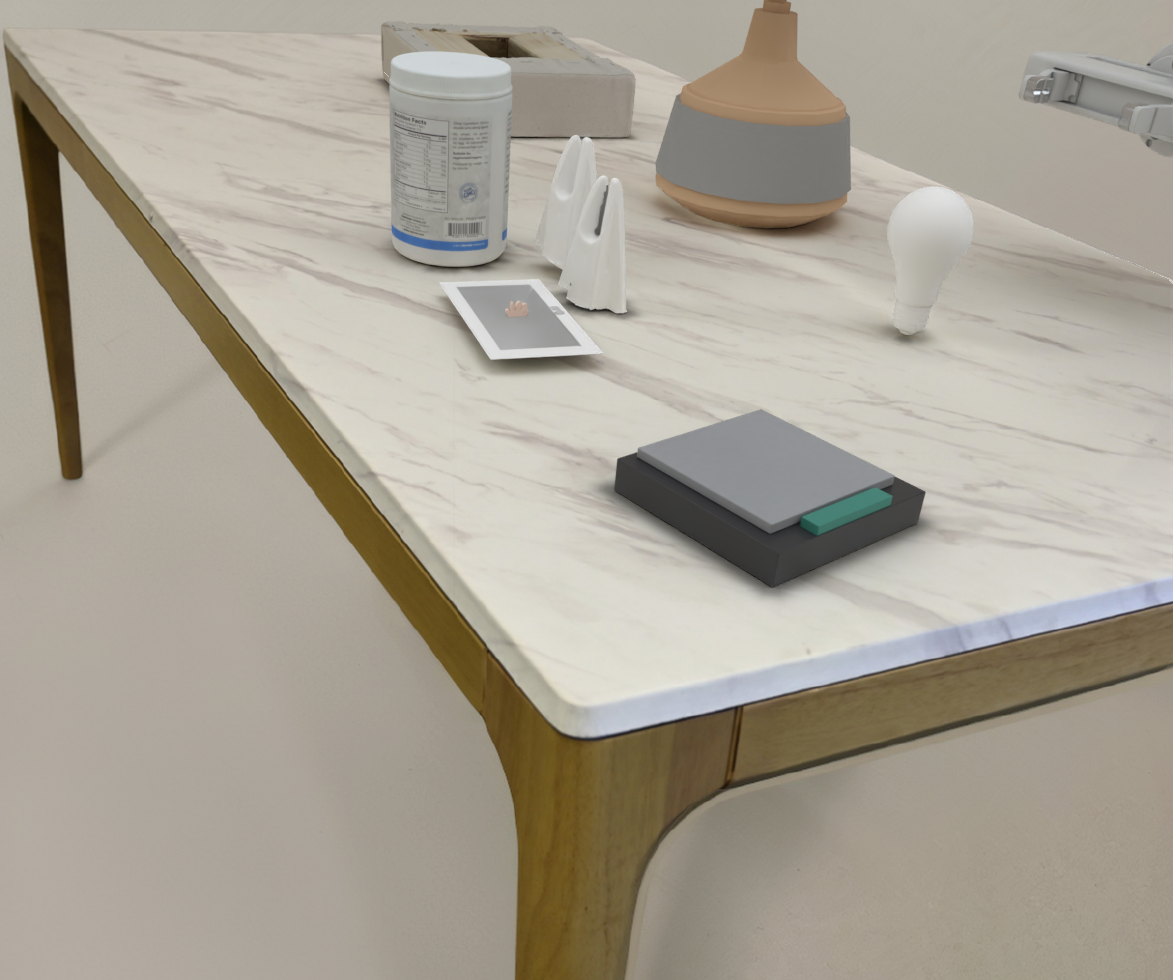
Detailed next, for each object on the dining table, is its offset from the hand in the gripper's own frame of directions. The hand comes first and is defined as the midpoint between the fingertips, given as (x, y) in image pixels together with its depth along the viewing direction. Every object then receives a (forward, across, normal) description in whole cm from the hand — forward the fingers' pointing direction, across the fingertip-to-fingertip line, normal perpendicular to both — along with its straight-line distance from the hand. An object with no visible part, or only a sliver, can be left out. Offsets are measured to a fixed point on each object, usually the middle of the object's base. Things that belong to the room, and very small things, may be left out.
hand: (1075, 103), depth 90 cm
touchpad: (+40, -10, +17) cm, 45 cm away
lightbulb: (+12, 0, +16) cm, 20 cm away
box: (+7, -78, +17) cm, 80 cm away
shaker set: (+31, -17, +17) cm, 39 cm away
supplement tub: (+37, -28, +17) cm, 49 cm away
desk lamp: (+4, -32, +17) cm, 36 cm away
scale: (+39, +18, +16) cm, 46 cm away
